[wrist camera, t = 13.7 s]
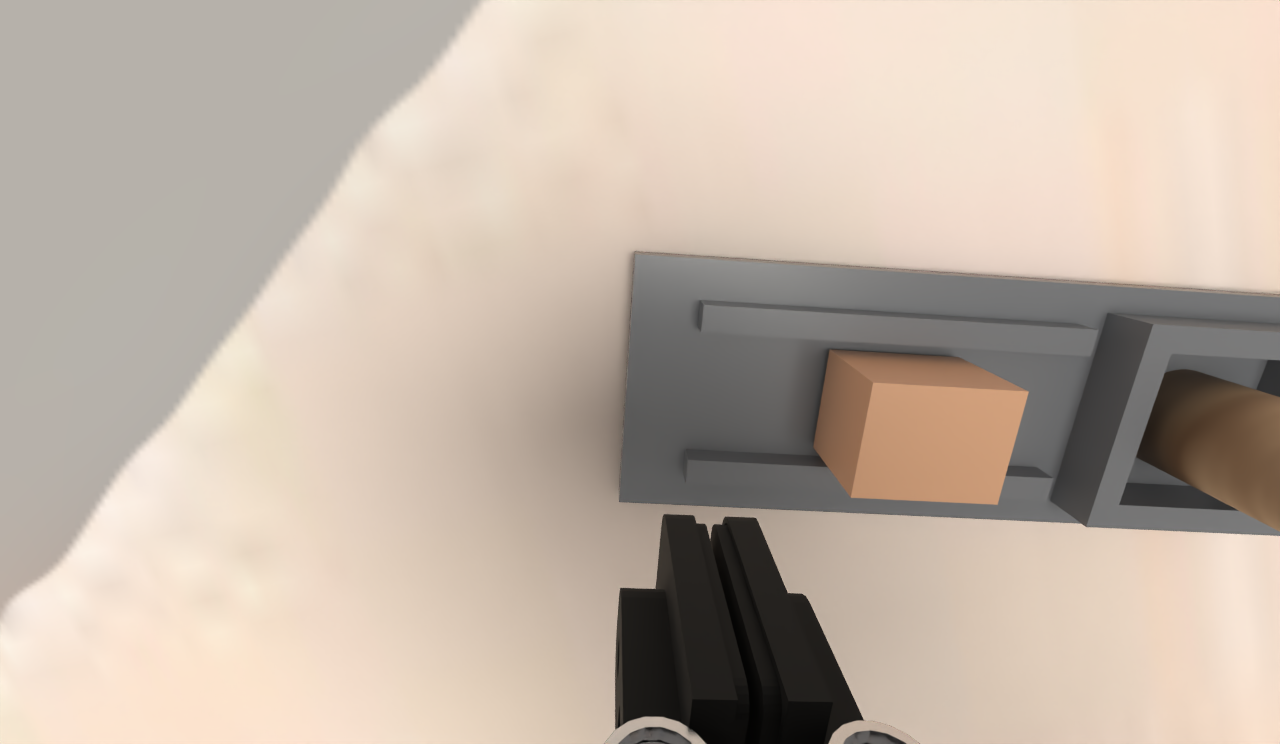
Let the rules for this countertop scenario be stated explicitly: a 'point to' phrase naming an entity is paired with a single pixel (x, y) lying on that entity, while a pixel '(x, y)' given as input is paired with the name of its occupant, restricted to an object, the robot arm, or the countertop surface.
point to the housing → (923, 325)
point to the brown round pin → (1218, 441)
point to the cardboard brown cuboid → (917, 427)
